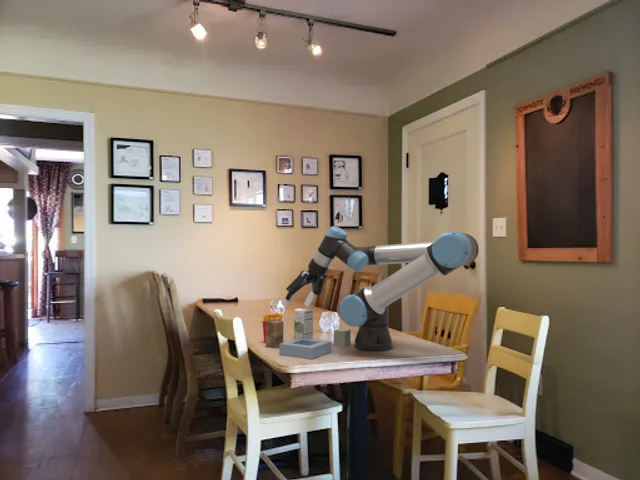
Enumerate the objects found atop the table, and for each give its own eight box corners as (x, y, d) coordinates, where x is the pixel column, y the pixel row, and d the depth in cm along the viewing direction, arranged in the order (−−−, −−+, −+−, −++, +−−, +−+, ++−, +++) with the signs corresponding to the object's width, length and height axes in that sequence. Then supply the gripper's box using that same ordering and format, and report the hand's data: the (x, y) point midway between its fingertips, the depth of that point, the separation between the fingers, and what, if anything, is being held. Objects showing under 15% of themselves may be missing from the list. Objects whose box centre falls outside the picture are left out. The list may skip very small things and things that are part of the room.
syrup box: (313, 344, 196) (313, 309, 196) (303, 346, 192) (303, 310, 192) (303, 342, 200) (303, 307, 200) (293, 344, 195) (293, 309, 196)
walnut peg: (283, 346, 193) (283, 321, 193) (276, 348, 189) (276, 322, 189) (273, 344, 195) (273, 320, 196) (265, 347, 191) (265, 321, 191)
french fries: (264, 343, 197) (265, 314, 197) (261, 342, 201) (261, 313, 201) (283, 341, 201) (284, 313, 202) (279, 340, 205) (280, 312, 205)
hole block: (331, 352, 183) (331, 341, 183) (312, 359, 170) (312, 348, 171) (299, 347, 190) (299, 337, 190) (279, 354, 177) (279, 343, 178)
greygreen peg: (350, 344, 198) (350, 329, 198) (344, 346, 194) (344, 331, 194) (339, 342, 200) (339, 328, 201) (333, 345, 196) (334, 330, 196)
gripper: (332, 259, 202) (308, 300, 207) (294, 255, 182) (269, 300, 187) (344, 269, 198) (320, 310, 203) (307, 266, 178) (280, 312, 183)
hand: (295, 306), depth 195 cm, fingers open, 13 cm apart
